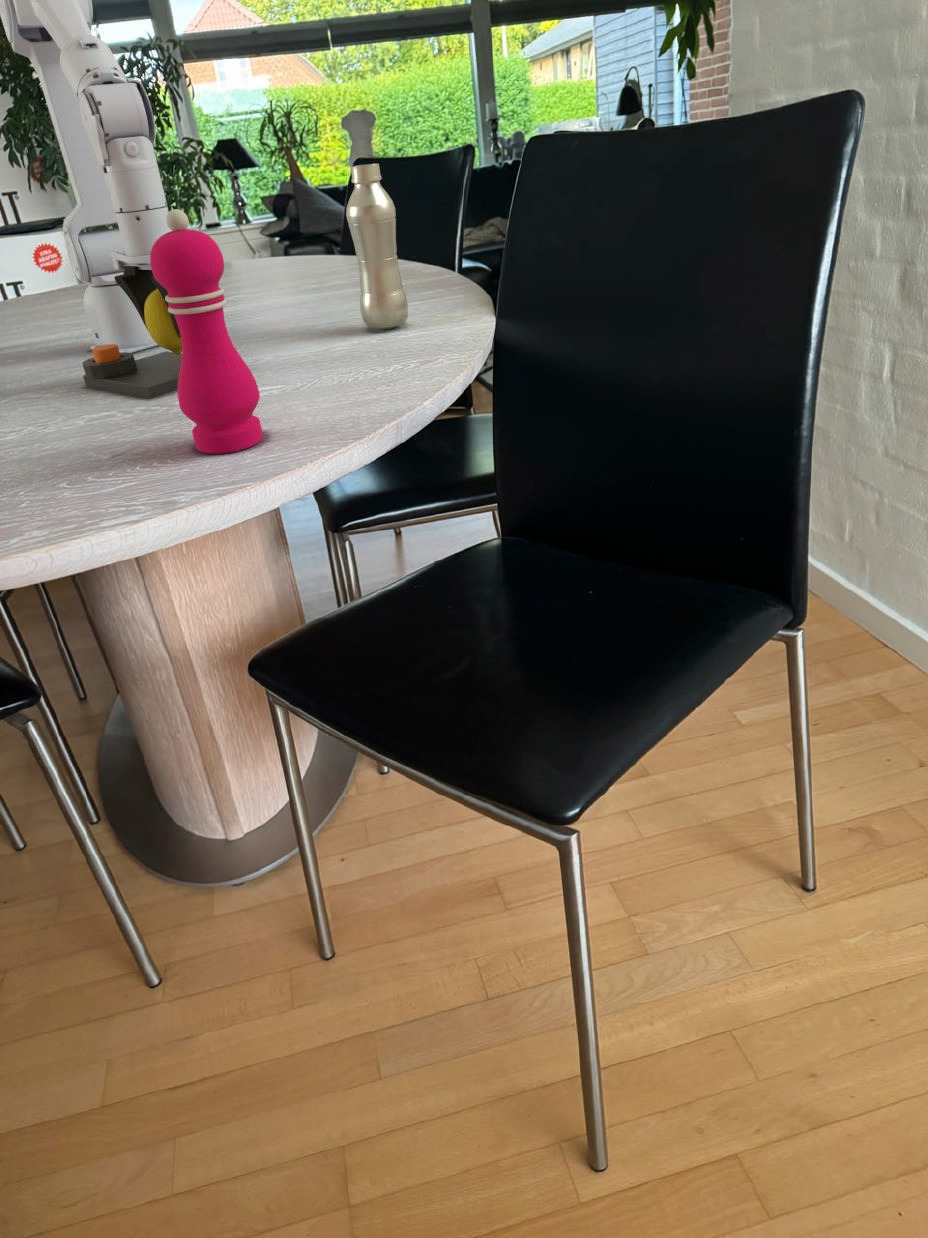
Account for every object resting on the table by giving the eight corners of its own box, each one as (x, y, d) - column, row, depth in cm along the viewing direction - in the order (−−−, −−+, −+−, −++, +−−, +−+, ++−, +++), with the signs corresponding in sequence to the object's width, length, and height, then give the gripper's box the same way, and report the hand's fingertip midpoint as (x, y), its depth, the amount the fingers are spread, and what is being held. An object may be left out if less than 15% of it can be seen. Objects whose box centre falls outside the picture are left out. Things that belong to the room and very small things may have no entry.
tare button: (91, 363, 105) (86, 349, 104) (113, 357, 107) (108, 343, 106) (104, 366, 103) (100, 351, 102) (126, 359, 105) (122, 344, 104)
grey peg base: (81, 387, 106) (73, 362, 104) (166, 361, 114) (160, 338, 112) (147, 400, 98) (140, 373, 96) (235, 371, 106) (229, 346, 104)
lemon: (188, 359, 102) (170, 288, 98) (146, 361, 103) (127, 290, 99) (209, 347, 106) (193, 278, 102) (169, 349, 108) (151, 281, 104)
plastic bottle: (420, 323, 120) (401, 160, 110) (391, 334, 115) (368, 166, 105) (383, 321, 123) (361, 163, 113) (353, 332, 119) (328, 169, 109)
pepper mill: (198, 434, 84) (141, 209, 74) (272, 426, 85) (225, 200, 74) (184, 460, 78) (119, 218, 68) (264, 450, 78) (211, 208, 68)
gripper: (210, 203, 95) (237, 330, 102) (136, 205, 103) (166, 323, 110) (155, 212, 90) (188, 344, 97) (82, 214, 99) (117, 336, 106)
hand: (173, 334), depth 103 cm, fingers closed on lemon, 5 cm apart
